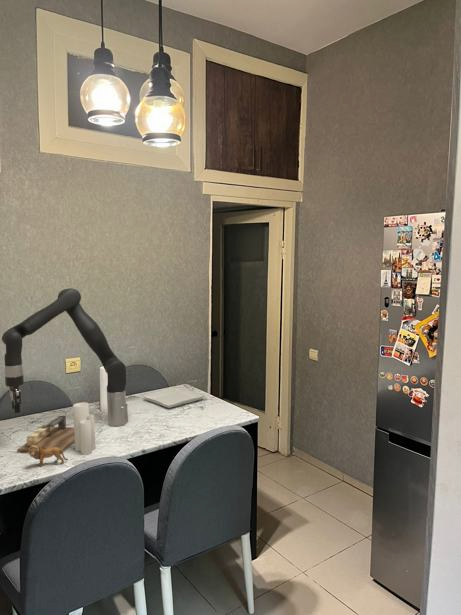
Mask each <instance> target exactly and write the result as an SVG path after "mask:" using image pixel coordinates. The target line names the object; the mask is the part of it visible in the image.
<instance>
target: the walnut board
mask: <svg viewBox="0 0 461 615" xmlns="http://www.w3.org/2000/svg"><path fill="white" fill-rule="evenodd" d="M66 418H67V416H66V415H58V416H57V417H56V418H54V419H52V420H51V421H49V422H48V423H46V424H47V427H50V435H47V436H46V437H45V438H43V439H42V440H40V441H39V442H38V443H36V444H35V445H39V446H41V447H44V448H46V449H50V448H54V447H58V448H60V449H61V450H62V452H63V453H65V452H66V451H67V449H69V448H70V447H71V446H72V445H73V444H75V435H74V426H71V427H70V426H67V419H66ZM30 447H31V446H27V442H25V443H24V444H23V445H21V446H20V447H18V448H17V453H18V452H20V453H21V454H29V448H30ZM20 453H19V454H20ZM60 455H62V454H61V452H60Z"/></svg>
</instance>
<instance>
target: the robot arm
mask: <svg viewBox="0 0 461 615" xmlns="http://www.w3.org/2000/svg"><path fill="white" fill-rule="evenodd" d="M81 300H82V295H81V293H80V291H79V290H77V289H75V288H65V289H62V290H60V291H59V293H58V295H57V298H56V299H55V300H54V301H53V302H51V303H50V304H49V305H46V306H45V307H43V308H41V309H40V310H37V311H36V312H35V313H33V314H31V315H30V316H29V317H27V318H26V319H24V320H23V321H22V322H19V323H18V324H16V325H13V326H12V327H10V328H9V329H7V330H6V331H5V332H3V334H2V336H1V340H2V343H3V344H4V345H5V353H4V383H5V386H6V387H9V396H10V397H9V398H10V401H11V409H12V410H14V413H15V414H18V413H19V414H20V413H21V404H22V399H21V398H22V395H21V394H22V392H21V388H20V387H19V386H23V385H24V383H25V382H24V381H25V380H24V367H23V358H22V351H23V338H25V337H27V336H30V335H32V334H34V333H35V332H37V331H38V330H40V329H41V328H42V327H44V326H46V325H47V324H48V323H49V322H50V321H52V320H53V319H55V318H57V316H60V315H61V314H63V313H64V312H66V314H68V316H69V317H70V319H71V320H72V322H73V323H74V326H75V327H76V328H77V330H78V332H79V333H80V335H81V337H82V339H83V340H84V341H85V342H86V344H87V345H88V347H89V348H90V349H91V350H92V351H93V353H94V354H95V355H96V356H97V358H98V360H99V361H100V363H101V365H102V367H103V368H104V371H105V372H106V374H107V375H106V376H107V386H106V400H107V401H106V402H107V403H106V404H107V405H106V406H107V424H108V425H109V426H111V427H120V426H125V425H126V424H127V423H128V422H129V414H128V413H129V412H128V409H129V408H128V403H127V399H126V398H127V396H126V395H127V394H126V393H127V392H126V386H127V368H126V365H125V363H124V362H123V361H122V360H120V359H119V358H118V357H117V355H116V354H115V353H114V352H113V351H112V349H111V346H110V345H109V343H108V340H107V338H106V336H105V334H104V332H103V330H102V329H101V327H100V326H99V325H98V323H97V322H96V321H95V320H94V319H93V318H92V317H91V316H90V315H89V314H88V313H87V312H86V311H85V310H84V308H83V307H82V304H81V303H80V302H81Z"/></svg>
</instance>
